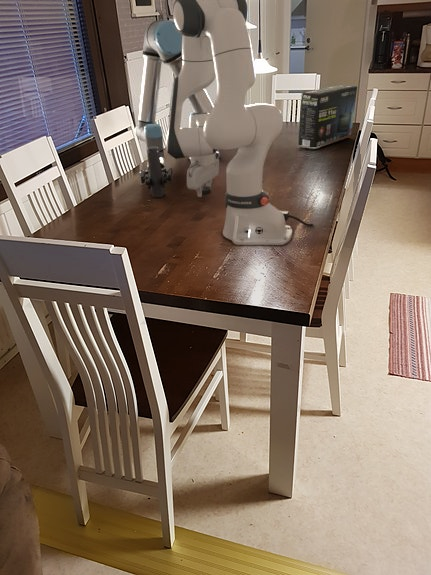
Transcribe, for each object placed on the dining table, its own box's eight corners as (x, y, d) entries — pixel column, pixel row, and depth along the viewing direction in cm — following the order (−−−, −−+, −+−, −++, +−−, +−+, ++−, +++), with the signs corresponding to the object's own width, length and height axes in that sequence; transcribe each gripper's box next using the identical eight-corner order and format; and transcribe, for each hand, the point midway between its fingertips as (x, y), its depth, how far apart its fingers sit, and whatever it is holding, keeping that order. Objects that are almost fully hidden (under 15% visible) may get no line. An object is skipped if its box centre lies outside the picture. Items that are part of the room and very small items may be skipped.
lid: (212, 191, 179) (212, 186, 178) (208, 195, 174) (208, 191, 174) (199, 190, 180) (199, 186, 179) (195, 195, 176) (195, 190, 175)
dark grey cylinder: (149, 195, 184) (144, 147, 174) (160, 192, 186) (155, 145, 176) (155, 198, 181) (149, 149, 171) (165, 195, 183) (160, 147, 173)
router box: (314, 151, 231) (318, 94, 217) (296, 148, 237) (299, 92, 224) (352, 138, 251) (358, 85, 238) (335, 135, 258) (340, 83, 245)
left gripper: (177, 174, 198) (180, 192, 178) (136, 177, 197) (134, 196, 177) (176, 157, 194) (178, 173, 174) (134, 160, 193) (131, 177, 173)
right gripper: (196, 166, 161) (198, 203, 168) (221, 151, 177) (222, 186, 184) (181, 164, 163) (183, 201, 171) (207, 150, 179) (208, 184, 186)
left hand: (156, 185), depth 176 cm, fingers closed on dark grey cylinder, 5 cm apart
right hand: (204, 193), depth 177 cm, fingers closed on lid, 5 cm apart
